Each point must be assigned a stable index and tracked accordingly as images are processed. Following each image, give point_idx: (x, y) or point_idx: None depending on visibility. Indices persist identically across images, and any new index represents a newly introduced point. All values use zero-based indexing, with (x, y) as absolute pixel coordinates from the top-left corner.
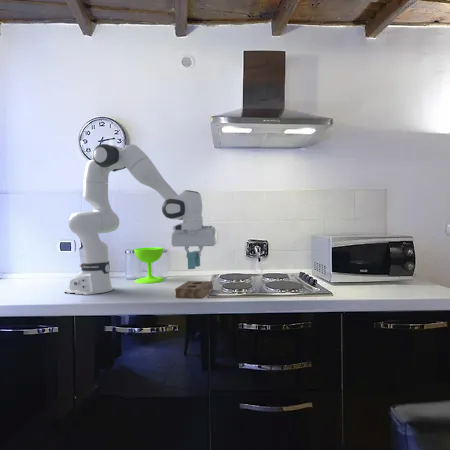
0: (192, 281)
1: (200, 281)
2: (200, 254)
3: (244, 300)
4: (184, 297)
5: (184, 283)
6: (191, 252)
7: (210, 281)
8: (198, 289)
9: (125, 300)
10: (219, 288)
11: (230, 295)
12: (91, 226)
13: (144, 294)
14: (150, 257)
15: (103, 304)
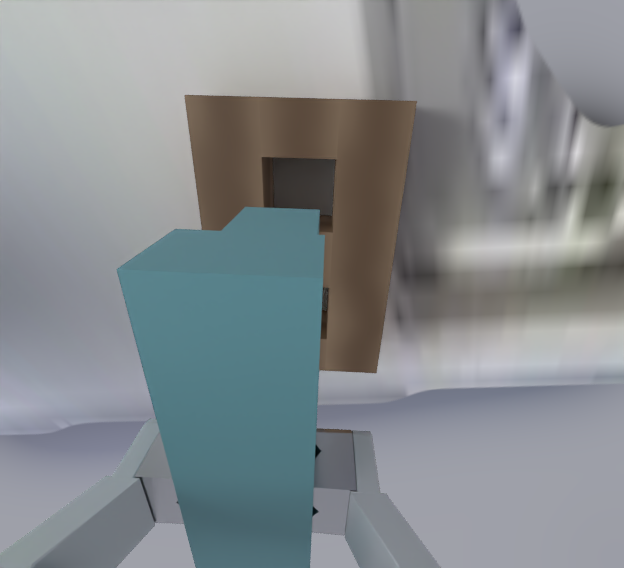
0: (233, 119)
1: (306, 114)
2: (372, 456)
3: (580, 365)
4: None
5: (203, 214)
6: (226, 550)
7: (400, 110)
8: (355, 370)
9: (37, 382)
10: (456, 41)
11: (523, 274)
12: None
13: (25, 275)
14: None
15: (10, 431)
